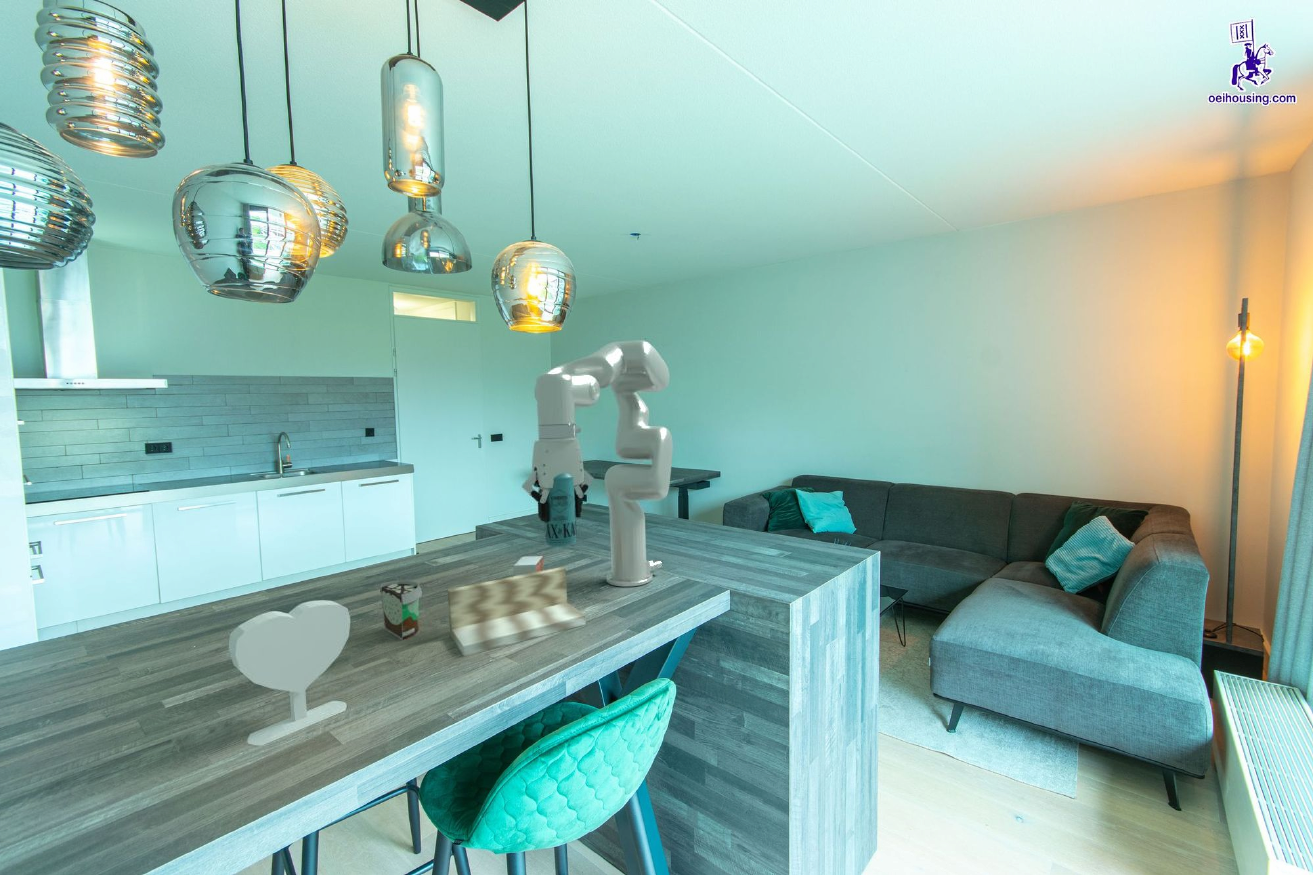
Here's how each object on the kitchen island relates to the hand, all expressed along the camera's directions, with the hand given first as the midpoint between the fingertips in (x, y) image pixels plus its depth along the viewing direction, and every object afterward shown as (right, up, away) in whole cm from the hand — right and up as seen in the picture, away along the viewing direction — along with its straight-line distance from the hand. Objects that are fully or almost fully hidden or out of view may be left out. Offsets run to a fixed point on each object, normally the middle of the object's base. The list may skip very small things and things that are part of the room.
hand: (560, 518), depth 117 cm
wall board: (-9, -25, +3) cm, 27 cm away
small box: (-11, -24, +21) cm, 34 cm away
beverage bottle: (0, -7, 0) cm, 7 cm away
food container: (-35, -26, +6) cm, 43 cm away
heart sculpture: (-36, -28, -29) cm, 54 cm away
